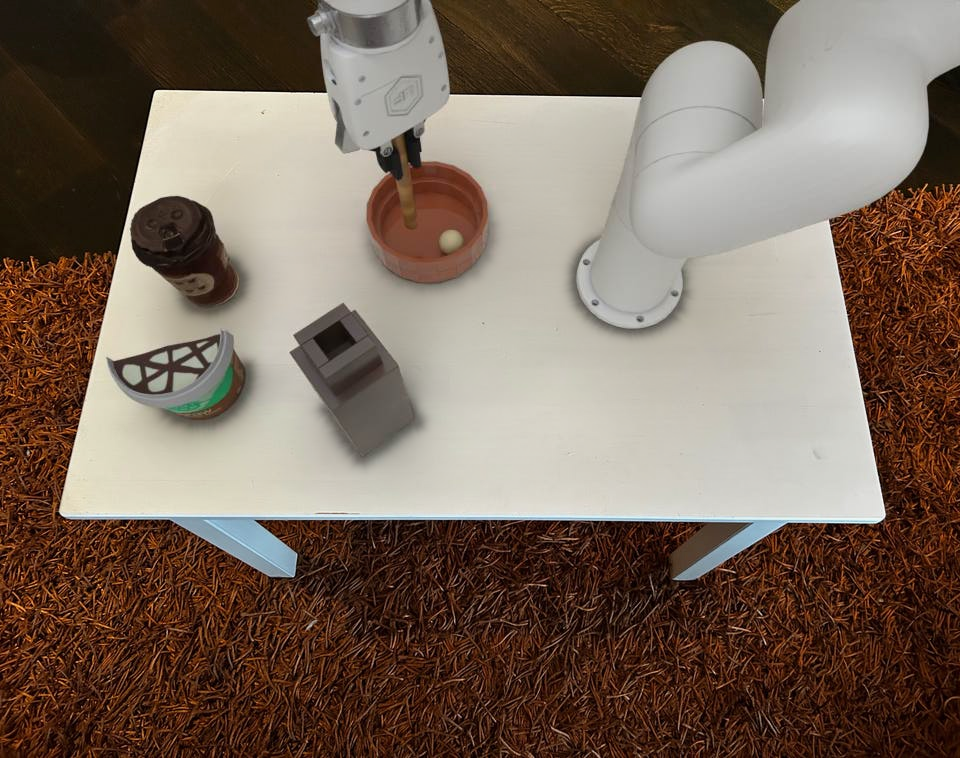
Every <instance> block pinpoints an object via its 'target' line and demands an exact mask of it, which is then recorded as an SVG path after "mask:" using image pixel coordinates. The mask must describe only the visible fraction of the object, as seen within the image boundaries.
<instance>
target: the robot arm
mask: <svg viewBox="0 0 960 758" xmlns="http://www.w3.org/2000/svg"><path fill="white" fill-rule="evenodd" d="M316 1H317V4H318V5H317V10H316V11H314V14H312V15H310V16H308V17H307V18H306V22H307V24H308V27H309V29H310V31H311V32H312V34H313V35H314V36H315V37H320V39H319V40H320V42H319V43H320V56H321V67H322V73H323V79H324V84H325V90H326V95H327V98H328V103H329V107H330V110H331V114H332V116H333V118H334V120H335V122H336V128H335V135H334V136H335V137H334V144H335V146H336V147H337V149H339V150H340V152H341V153H342V154H344V155H345V154H346V155H347V154H350V153H354V152H358V151H360V150H361V151H368V152H369V151H370V152H374V153H375V156H376V161H377V165H378V166H379V167H380V169H381V170H382V171H383V172H384V174H389V173H391V174H392V175H393V176H394V178H395V179H396V180H397V181H399V180H401V179H402V177H403V171H402V165H401V160H400V154H399V151H398V150H397V149H396V148H395V147H394V146H393V144H392V141H391V140H392V139H393V138H395V137H397V136H398V135H400V134H402V133H404V137H405V143H406V150H407V156H408V162H409V164H411V166H412V167H413V168H414V169H418V168H420V167H422V164H421V162H422V157H421V153H422V152H423V149H422V142H421V137H422V136H423V135H424V134H425V131H426V130H425V122H426V121H427V119H429V118H430V117H432V116H433V115H435V114H437V112H439V111H440V110H442V109H443V108H444V107H445V106H446V104H447V103H448V102H449V98H450V94H451V93H450V91H451V88H450V87H451V86H450V76H449V75H450V74H449V67H448V62H447V56H446V52H445V46H444V41H443V37H442V33H441V31H440V27H439V22H438V20H437V16H436V14H435V11H434V8H433V5H432V3H431V0H316ZM958 66H960V0H799V1H797V2H796V3H795V4H793V5H792V6H791V7H790V8H788V9H787V10H786V11H785V12H784V13H783V15H782V16H781V17H780V18H779V19H778V21H777V23H776V25H775V26H774V28H773V29H772V33H771V36H770V38H769V43H768V47H767V53H766V62H765V75H764V91H763V87H762V83H761V79H760V75H759V72H758V70H757V69H756V67H755V65H754V63H753V62H752V60H751V58H750V57H749V56H748V55H746V54H745V52H744V51H742V50H741V49H739V48H738V47H736V46H734V45H732V44H729V43H728V42H722V41H716V40H702V41H698V42H693V43H690V44H688V45H685V46H683V47H681V48H679V49H677V50H675V51H674V52H673V53H671V54H669V56H667V57H666V58H665V59H664V60H663V61H662V62H661V63H660V64H659V65H658V66H657V68H656V69H655V70H654V71H653V73H652V74H651V76H650V77H649V79H648V81H647V83H646V84H645V87H644V89H643V91H642V94H641V97H640V100H639V104H638V108H637V111H636V116H635V120H634V124H633V127H632V133H631V137H630V140H629V145H628V147H627V148H628V149H627V152H626V157H625V160H624V163H623V167H622V170H621V174H620V176H619V180H618V184H617V186H616V189H615V192H614V195H613V198H612V201H611V204H610V207H609V210H608V214H607V216H606V220H605V222H604V226H603V228H602V229H603V230H602V232H601V236H600V239H597V240H596V241H594V242H593V243H592V244H590V246H588V248H587V249H586V250H585V251H584V253H583V254H582V256H581V258H580V260H579V262H578V266H577V269H576V275H575V282H576V288H577V293H578V295H579V297H580V299H581V301H582V302H583V304H584V306H585V307H586V309H588V310H589V312H590V313H592V314H593V315H594V316H595V317H596V318H598V319H599V320H601V321H603V322H604V323H606V324H609V325H611V326H614V327H617V328H622V329H630V330H631V329H637V330H639V329H643V328H649V327H652V326H654V325H657V324H658V323H660V322H661V321H664V320H665V319H666V318H667V317H668V316H669V315H670V314H672V313H673V311H674V309H675V308H676V307H677V305H678V303H679V301H680V300H681V297H682V293H683V285H684V279H683V274H682V269H683V267H684V266H685V264H686V262H687V260H688V259H689V260H692V259H700V258H705V257H711V256H715V255H720V254H724V253H727V252H731V251H734V250H738V249H741V248H744V247H747V246H750V245H753V244H756V243H760V242H763V241H766V240H769V239H772V238H775V237H779V236H782V235H785V234H788V233H792V232H794V231H798V230H801V229H804V228H807V227H810V226H813V225H817V224H819V223H823V222H826V221H828V220H832V219H836V218H838V217H841V216H843V215H846V214H849V213H852V212H855V211H857V210H860V209H862V208H864V207H866V206H869V205H871V204H873V203H874V202H876V201H878V200H879V199H882V198H883V197H884V196H885V195H887V194H888V193H890V192H892V191H893V190H894V189H895V188H896V187H898V186H899V185H900V184H901V183H902V182H903V181H904V180H906V179H907V177H908V176H909V175H910V174H911V173H912V172H913V170H914V169H915V168H916V166H917V165H918V163H919V161H920V160H921V157H922V156H923V154H924V151H925V147H926V145H927V141H928V134H929V128H930V126H929V125H930V122H929V121H930V117H929V101H928V100H929V99H928V86H929V84H930V83H931V82H932V81H933V80H935V78H938V77H939V76H941V75H943V74H944V73H945V74H946V72H949V71H951V70H952V69H954V68H957V67H958ZM763 92H764V94H763ZM763 95H764V96H763Z"/></svg>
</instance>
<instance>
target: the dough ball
mask: <svg viewBox="0 0 960 758" xmlns="http://www.w3.org/2000/svg"><path fill="white" fill-rule="evenodd" d="M439 246H440V249H441V250H442V251H443V252H444V253H445V254H447V255H450V254H453V253H455V252H456V251H458V250H459V249H461V248H462V247H463V246H464V239H463V237H462V235H461V234H460V233H459V232H458V231H456V230H447V231H445V232H444V233H442V235H441V236H440V239H439Z"/></svg>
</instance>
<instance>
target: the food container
mask: <svg viewBox="0 0 960 758" xmlns="http://www.w3.org/2000/svg"><path fill="white" fill-rule="evenodd" d="M219 332H220V333H218V334H213V335H211V336H208V337H204V338H200V339H196V340H190V341H185V342H180V343H175V344H171V345H170V344H169V345H166V346H162V347H159V348H155V349H153V350H150V351H147V352H143V353H140V354H136V355H132V356H128V357H125V358H121V359H116V360H113V359H112V358H110V357H108V356H106V357H105V359H106V364H107V368H108V371H109V373H110V376H111V377H112V379H113V381H114V383H116V385H117V386H118V388H119V389H120V390H121V392H123V393H124V395H125V396H127V397H128V398H130V399H131V400H132V401H134V402H136V403H138V404H140V405H143V406H146V407H149V408H150V407H151V408H157V409H158V408H159V409H165V410H167V411H169V412H171V413H172V414H175V415H177V416H179V417H181V418H185V419H187V420H191V421H207V420H211V419H213V418H216V417H218V416H220V415H222V414H224V413H225V412H226V411H228V410H229V409H231V408H232V406H233V405H234V404H235V403H236V402H237V401H238V399H239V398H240V395H241V394H242V392H243V389H244V386H245V383H246V369H245V368H246V367H245V366H244V365H243V362H242V361H241V359H240V358H239V356H238V354H237V352H236V350H235V349H234V347H235V345H234V344H235V340H234V338H235V337H234V335H233V334H232V333H230V332H229V331H228V330H226V329H225V330H224V329H223V328H221V327H219Z"/></svg>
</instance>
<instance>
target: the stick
mask: <svg viewBox="0 0 960 758" xmlns="http://www.w3.org/2000/svg"><path fill="white" fill-rule="evenodd" d="M391 141H392V144H393V146H394V147H395V148H396V149H397V150H398V151H399V154H400V160H401V165H402V171H403V177H402V179H401V180H399V181H397V180H396V183H397V188H398V193H399V198H400V203H401V208H402V213H403V219H404V224H405V227H406V228H407V229H410V230H412V229H415V228H417V226H418V218H417V212H416V205H415V199H414V193H413V187H412V181H411V174H410V168H409V164H410V163H409V162H408V156H407V150H406V143H405V137H404V133H402V134H400V135H398V136H397V137H395V138H393V139H392V140H391Z"/></svg>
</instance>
